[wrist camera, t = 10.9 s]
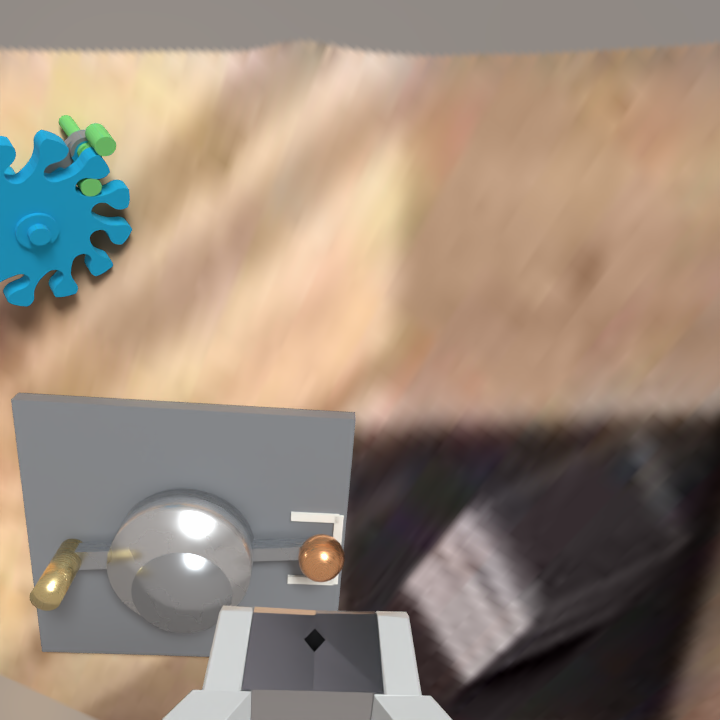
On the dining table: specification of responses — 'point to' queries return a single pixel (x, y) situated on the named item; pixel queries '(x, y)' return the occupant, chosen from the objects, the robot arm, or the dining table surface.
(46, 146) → the gear
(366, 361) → the dining table surface
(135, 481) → the grey square plate
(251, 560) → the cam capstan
